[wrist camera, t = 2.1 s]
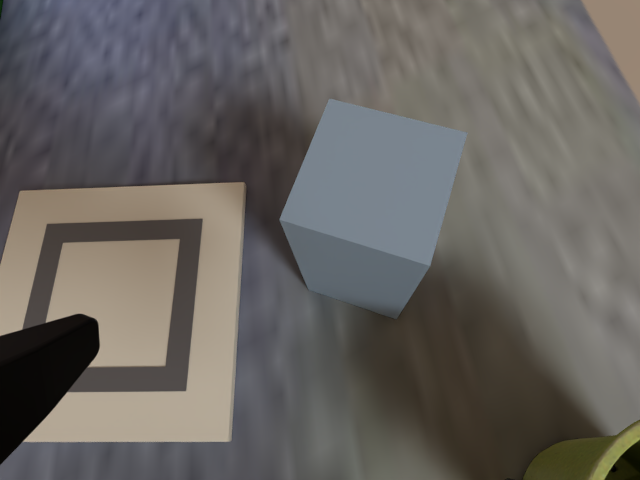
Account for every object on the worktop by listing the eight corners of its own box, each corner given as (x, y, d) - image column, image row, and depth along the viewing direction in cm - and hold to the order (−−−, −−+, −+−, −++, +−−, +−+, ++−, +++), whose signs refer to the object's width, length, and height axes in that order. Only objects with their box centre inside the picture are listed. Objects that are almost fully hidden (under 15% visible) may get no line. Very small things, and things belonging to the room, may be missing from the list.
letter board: (-37, 440, 21) (-48, 442, 21) (27, 195, 26) (19, 190, 26) (231, 440, 21) (227, 441, 20) (246, 186, 25) (243, 181, 25)
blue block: (396, 319, 22) (430, 266, 13) (308, 290, 23) (279, 219, 14) (421, 235, 24) (467, 132, 14) (337, 210, 25) (329, 98, 15)
